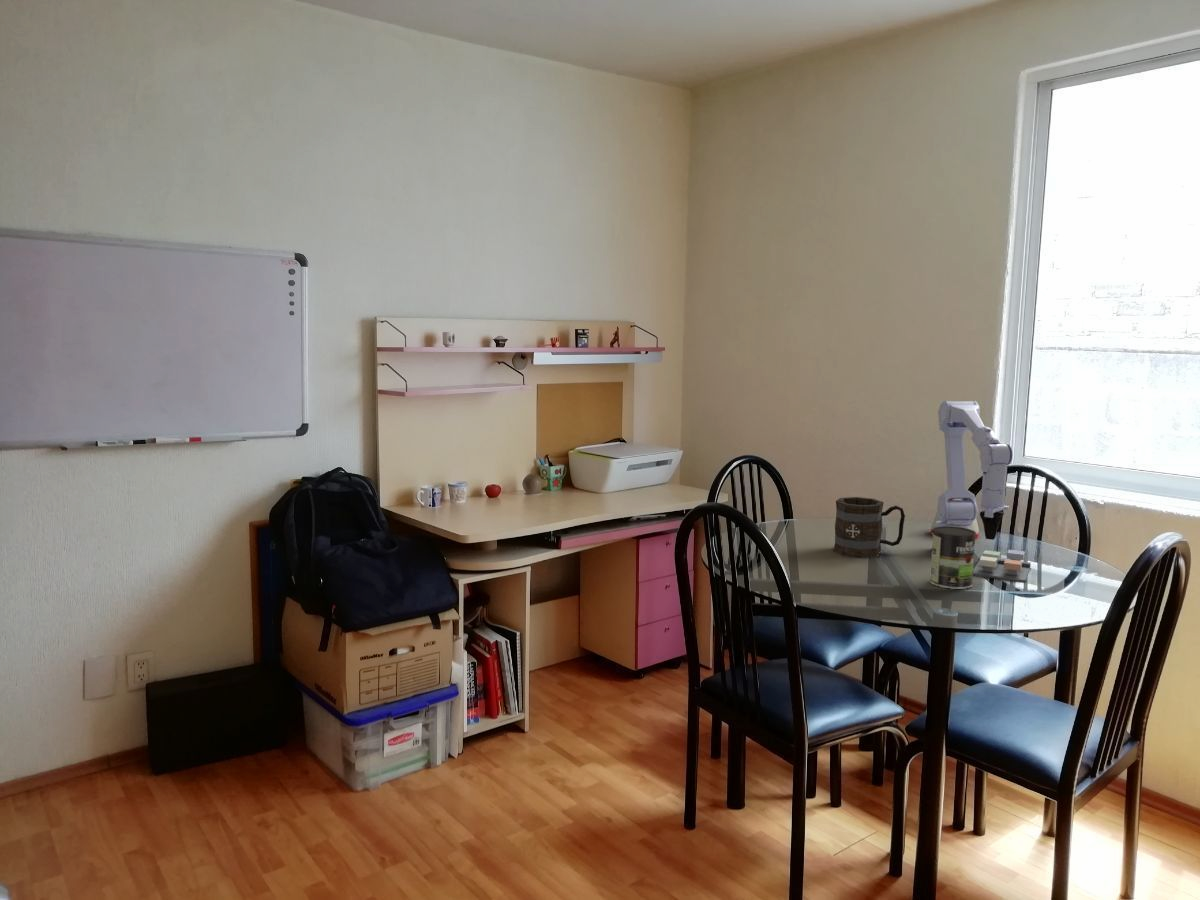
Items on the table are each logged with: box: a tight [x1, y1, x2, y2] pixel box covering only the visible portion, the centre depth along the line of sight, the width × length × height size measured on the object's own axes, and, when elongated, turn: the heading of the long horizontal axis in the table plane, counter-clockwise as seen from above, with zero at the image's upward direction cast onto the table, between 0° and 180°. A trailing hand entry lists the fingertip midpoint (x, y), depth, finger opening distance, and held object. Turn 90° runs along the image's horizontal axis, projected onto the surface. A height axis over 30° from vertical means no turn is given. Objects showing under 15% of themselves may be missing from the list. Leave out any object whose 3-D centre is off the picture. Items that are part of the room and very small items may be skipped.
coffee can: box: [929, 526, 976, 590], centre depth 231 cm, size 10×10×14 cm
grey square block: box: [1006, 549, 1026, 562], centre depth 244 cm, size 4×4×3 cm
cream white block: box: [982, 550, 1001, 561], centre depth 248 cm, size 4×4×3 cm
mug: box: [833, 496, 906, 559], centre depth 262 cm, size 20×14×15 cm
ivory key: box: [978, 555, 998, 572], centre depth 242 cm, size 4×4×3 cm
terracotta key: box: [1004, 558, 1023, 575], centre depth 239 cm, size 4×4×3 cm
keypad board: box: [973, 555, 1031, 583], centre depth 243 cm, size 13×15×2 cm
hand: (990, 538), depth 241 cm, fingers closed
